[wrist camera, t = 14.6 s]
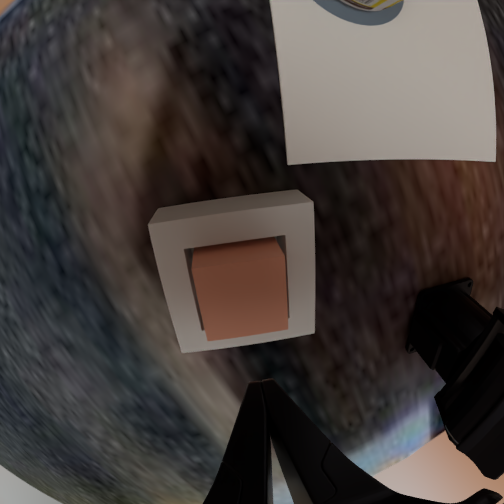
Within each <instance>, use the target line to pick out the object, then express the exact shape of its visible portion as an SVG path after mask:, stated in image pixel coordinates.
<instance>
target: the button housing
mask: <svg viewBox="0 0 504 504" xmlns="http://www.w3.org/2000/svg"><path fill="white" fill-rule="evenodd" d="M148 228H149V233H150V237H151V242H152V246H153V250H154V255H155V259H156V263H157V267H158V271H159V275H160V279H161V283H162V286H163V290H164V294H165V298H166V301H167V305H168V308H169V312H170V315H171V319H172V322H173V326H174V329H175V332H176V336H177V339H178V342H179V345H180V349H181V352H182V353H188V352H197V351H205V350H214V349H221V348H229V347H236V346H243V345H250V344H256V343H263V342H269V341H275V340H281V339H286V338H292V337H297V336H302V335H308V334H313V333H315V230H314V202H313V201H312V200H310V199H309V198H308V197H307V196H305V195H304V194H303V193H301V192H300V191H299V190H287V191H278V192H270V193H261V194H253V195H245V196H237V197H229V198H222V199H215V200H208V201H201V202H194V203H188V204H181V205H175V206H169V207H163V208H158V209H157V211H156V212H155V214H154V215H153V217H152V219H151V220H150V222H149V223H148ZM267 237H275V239H276V241H277V243H278V244H279V246H280V248H281V250H282V252H283V254H284V255H285V270H286V289H287V309H288V329H287V330H282V331H276V332H270V333H264V334H257V335H251V336H244V337H237V338H230V339H223V340H215V341H207V337H206V333H205V329H204V324H203V320H202V316H201V311H200V307H199V302H198V298H197V293H196V289H195V284H194V279H193V274H192V270H191V268H192V260H193V252H194V248H195V247H202V246H209V245H216V244H223V243H231V242H238V241H245V240H252V239H259V238H267Z"/></svg>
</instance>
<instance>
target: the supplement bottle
mask: <svg viewBox="0 0 504 504" xmlns="http://www.w3.org/2000/svg"><path fill="white" fill-rule="evenodd" d="M340 1H342V2H344V3H345V4H347V5H349V6H352V7H354V8H357V9H360V10H365V11H381V10H384V9H387V8H389V7H391V6H393V5H395V4H397V3H399V2H401V1H403V0H340Z"/></svg>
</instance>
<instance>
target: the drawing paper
mask: <svg viewBox="0 0 504 504" xmlns="http://www.w3.org/2000/svg"><path fill="white" fill-rule="evenodd" d="M269 2H270V9H271V16H272V23H273V31H274V39H275V47H276V55H277V64H278V73H279V82H280V92H281V101H282V112H283V122H284V133H285V145H286V157H287V165H294V164H306V163H320V162H336V161H356V160H387V159H441V160H470V161H488V162H496V115H495V98H494V87H493V77H492V69H491V62H490V56H489V50H488V44H487V39H486V34H485V29H484V25H483V21H482V17H481V13H480V9H479V5H478V2H477V0H403V1H401V2H399V3H397V4H395V5H393V6H391V7H389V8H387V9H384V10H381V11H365V10H360V9H357V8H354V7H352V6H349V5H347V4H345V3H344V2H342V1H340V0H269Z"/></svg>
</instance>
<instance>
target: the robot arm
mask: <svg viewBox="0 0 504 504" xmlns="http://www.w3.org/2000/svg"><path fill="white" fill-rule="evenodd" d="M472 286H473V280H472V279H470V278H466V279H462V280H459V281H455V282H452V283H448V284H445V285H441V286H437V287H434V288H430V289H426V290H423V291H421V292H420V293H419V295H418V298H417V303H416V308H415V313H414V317H413V321H412V326H411V330H410V334H409V338H408V342H407V346H406V351H407V352H408V353H409V354H410V353H414V352H418V354H419V355H420V356H421V357H422V359H423V360H424V361H425V363H426V364H427V365H428V366H429V368H430V369H431V370H436V371H437V372H438V374H439V375H440V376H441V378H442V379H443V380H444V382H445V383H446V384H445V386H444V387H443V388H442V389H441V391H439V392H438V393H437V394H436V395H435V396H434V398H435V401H436V404H437V406H438V409H439V412H440V415H441V418H442V421H443V424H444V427H445V430H446V433H447V435H448V438H449V440H450V441H451V442H452V443H453V444H454V445H455V446H456V449H457V450H459V451H461V452H462V453H464V454H465V455H466V456H468V457H469V458H470V459H471V460H472V461H473V462H474V463H475V464H476V466H477V467H478V469H479V470H480V471H481V473H482V474H483V475H484V476H485V477H488V478H491V479H493V480H496V479H498V478H499V477H500V476H501V475H502V474H503V473H504V309H501V308H498V307H496V308H495V310H494V312H493V315H492V314H490V313H489V312H488V311H487V310H486V309H485V308H484V307H482V306H481V305H480V304H479V303H478V302H477V301H475V300H474V299H473V298H472V297H471V296H470V293H471V290H472ZM270 437H271V440H272V443H273V446H274V449H275V452H276V455H277V458H278V461H279V463H280V466H281V469H282V472H283V475H284V477H285V480H286V483H287V486H288V488H289V491H290V494H291V496H292V499H293V502H294V504H450V503H441V502H435V501H430V500H425V499H420V498H415V497H411V496H407V495H403V494H400V493H397V492H395V491H393V490H391V489H389V488H388V487H386V486H385V485H383V484H382V483H380V482H379V481H377V480H376V479H375V478H373V477H372V476H370V475H369V474H368V473H366V472H365V471H363V470H362V469H361V468H359V467H358V466H357V465H356V464H354V463H353V462H352V461H351V460H349V459H348V458H347V457H346V456H345V455H344V454H343V453H342V452H341V451H340V450H339V449H338V448H337V447H336V446H335V445H334V444H333V443H331V441H330V440H329V439H328V438H327V437H326V436H325V435H324V434H323V433H322V432H321V431H320V430H319V429H318V428H317V426H316V425H315V424H314V423H313V422H312V421H311V420H310V419H309V418H308V417H307V416H306V415H305V413H304V412H303V411H302V410H301V409H300V408H299V407H298V406H297V405H296V404H295V402H294V401H293V400H292V399H291V398H290V397H289V396H288V395H287V394H286V392H285V391H284V390H283V389H282V388H281V387H280V386H279V384H278V383H277V382H276V381H275V380H274V379H266V380H262V381H261V382H260V381H254V382H249V383H248V385H247V388H246V391H245V394H244V398H243V401H242V404H241V407H240V410H239V413H238V416H237V419H236V422H235V425H234V428H233V431H232V434H231V437H230V440H229V442H228V445H227V448H226V451H225V454H224V457H223V460H222V461H223V462H222V463H221V465H220V468H219V471H218V473H217V476H216V478H215V481H214V483H213V485H212V487H211V489H210V491H209V493H208V495H207V497H206V499H205V501H204V502H203V504H273V486H272V461H271V441H270ZM502 498H503V497H502V496H501V495H500V494H499V493H497V492H494V491H491V490H488V489H481V490H480V491H478V492H476V493H475V494H473V495H472V496H471V497H469V498H467V499H466V500H464V501H462V502H458V503H451V504H496V503H497V502H499V501H500V500H501V499H502ZM503 504H504V503H503Z"/></svg>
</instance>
